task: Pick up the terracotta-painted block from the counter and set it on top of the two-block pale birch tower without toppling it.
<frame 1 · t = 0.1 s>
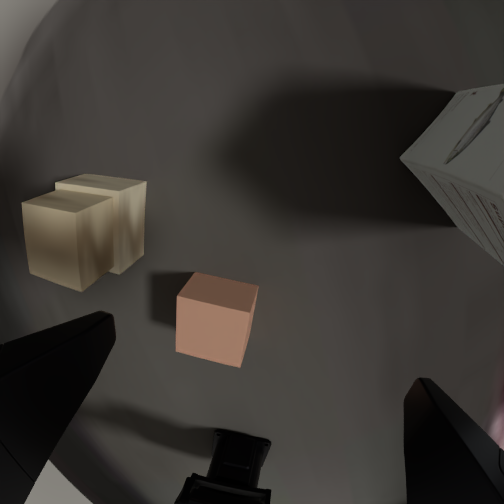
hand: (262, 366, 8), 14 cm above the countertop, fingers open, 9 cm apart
terracotta block: (223, 305, 25), on the countertop
supplement box: (458, 160, 18), on the countertop
tower mid: (85, 226, 20), point 4 cm above the countertop
tower base: (114, 212, 24), on the countertop
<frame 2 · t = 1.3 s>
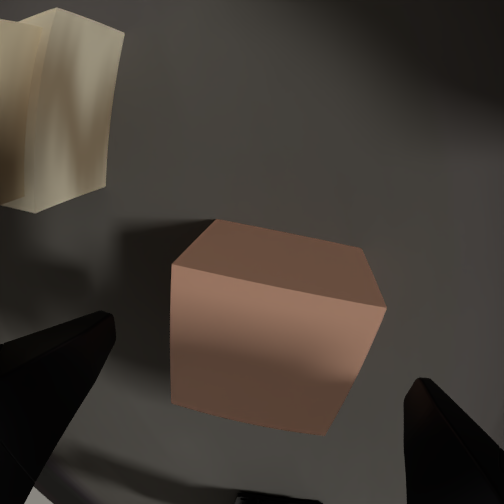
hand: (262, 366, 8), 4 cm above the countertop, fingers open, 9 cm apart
terracotta block: (276, 296, 11), on the countertop
tower base: (59, 109, 10), on the countertop
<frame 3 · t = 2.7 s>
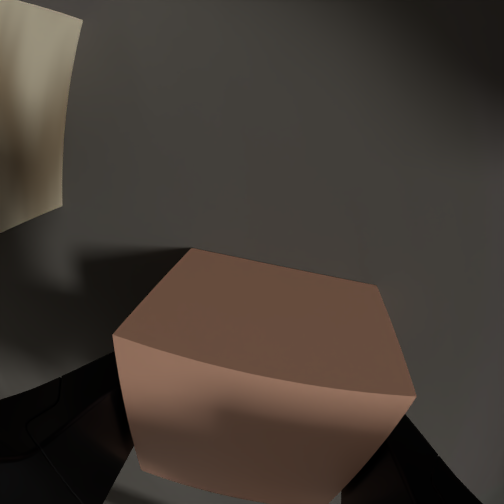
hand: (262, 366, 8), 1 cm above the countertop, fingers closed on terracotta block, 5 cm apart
terracotta block: (267, 342, 9), on the countertop, touching gripper
tower base: (16, 114, 8), on the countertop, touching tower mid
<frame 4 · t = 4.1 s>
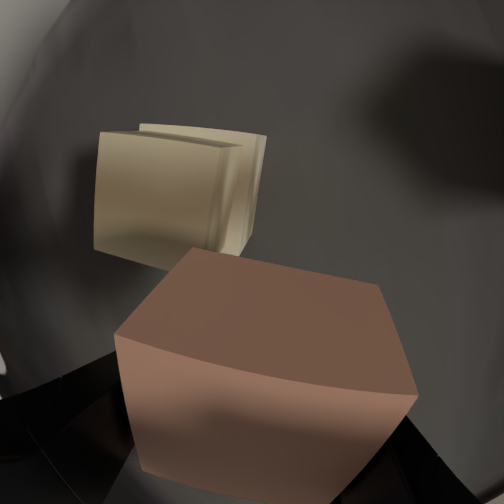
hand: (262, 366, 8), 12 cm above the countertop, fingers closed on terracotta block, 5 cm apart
terracotta block: (269, 342, 9), point 11 cm above the countertop, touching gripper
tower mid: (184, 186, 15), point 4 cm above the countertop, touching tower base
tower base: (210, 177, 19), on the countertop, touching tower mid
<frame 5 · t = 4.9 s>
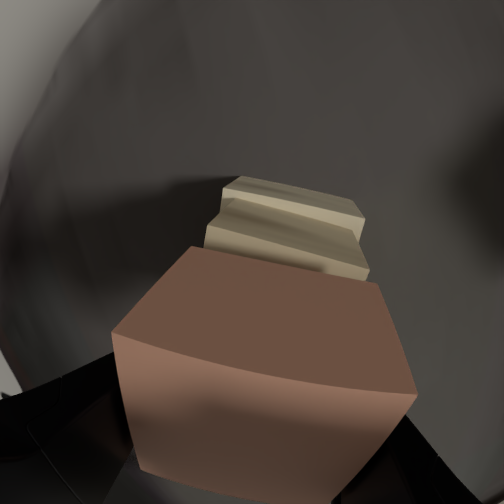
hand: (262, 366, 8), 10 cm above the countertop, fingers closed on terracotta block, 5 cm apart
terracotta block: (267, 341, 9), point 9 cm above the countertop, touching gripper
tower mid: (279, 267, 14), point 4 cm above the countertop, touching tower base
tower base: (285, 239, 17), on the countertop, touching tower mid
when the fingers open (10 cm above the countertop, at t = 5.6 s): terracotta block drops 1 cm, resting on tower mid.
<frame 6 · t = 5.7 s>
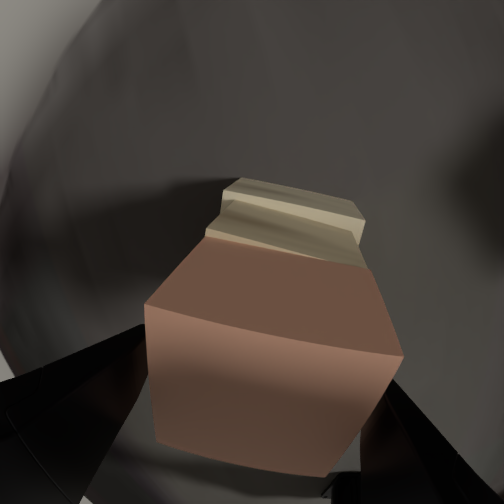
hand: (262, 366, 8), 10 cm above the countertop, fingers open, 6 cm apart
terracotta block: (273, 323, 10), point 8 cm above the countertop, touching tower mid
tower mid: (278, 268, 14), point 4 cm above the countertop, touching terracotta block, tower base
tower base: (286, 240, 17), on the countertop, touching tower mid
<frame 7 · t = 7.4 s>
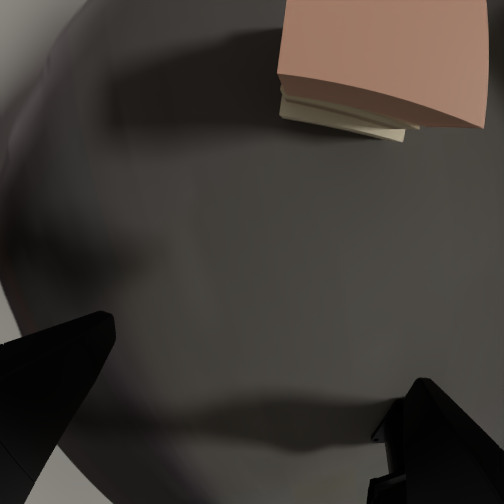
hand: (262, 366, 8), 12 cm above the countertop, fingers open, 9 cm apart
terracotta block: (367, 43, 8), point 8 cm above the countertop, touching tower mid
tower mid: (349, 65, 12), point 4 cm above the countertop, touching terracotta block
tower base: (341, 80, 16), on the countertop
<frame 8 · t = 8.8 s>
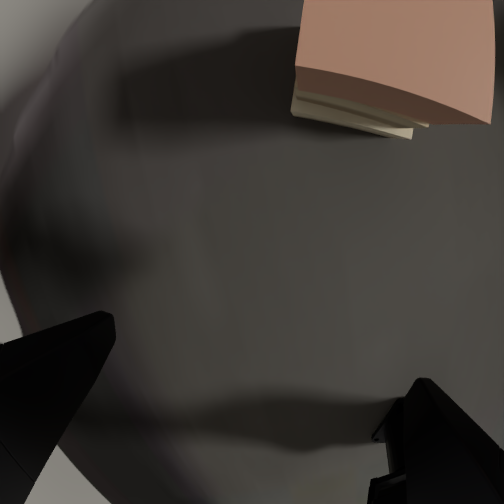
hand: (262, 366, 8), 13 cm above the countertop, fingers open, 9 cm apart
terracotta block: (377, 42, 8), point 8 cm above the countertop, touching tower mid
tower mid: (358, 65, 12), point 4 cm above the countertop, touching terracotta block, tower base
tower base: (350, 79, 16), on the countertop, touching tower mid
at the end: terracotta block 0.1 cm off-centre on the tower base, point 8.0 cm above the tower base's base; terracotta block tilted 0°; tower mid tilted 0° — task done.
